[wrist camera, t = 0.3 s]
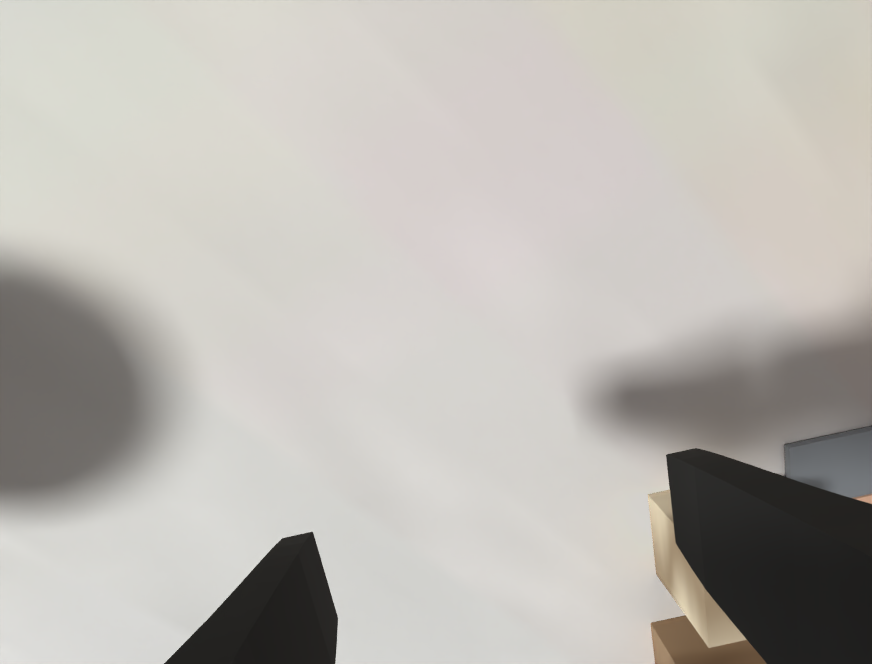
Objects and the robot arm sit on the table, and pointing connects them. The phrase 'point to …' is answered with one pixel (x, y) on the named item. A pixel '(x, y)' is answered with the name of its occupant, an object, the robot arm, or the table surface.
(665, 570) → the beech block
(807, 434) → the table surface
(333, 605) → the robot arm
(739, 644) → the walnut block
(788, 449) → the grey flat slab
